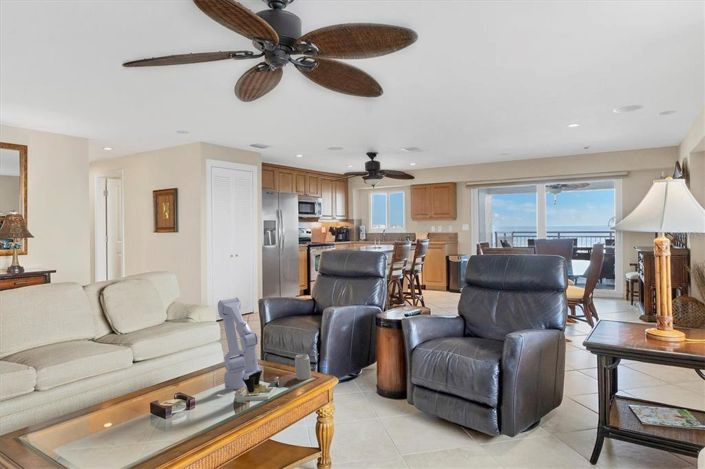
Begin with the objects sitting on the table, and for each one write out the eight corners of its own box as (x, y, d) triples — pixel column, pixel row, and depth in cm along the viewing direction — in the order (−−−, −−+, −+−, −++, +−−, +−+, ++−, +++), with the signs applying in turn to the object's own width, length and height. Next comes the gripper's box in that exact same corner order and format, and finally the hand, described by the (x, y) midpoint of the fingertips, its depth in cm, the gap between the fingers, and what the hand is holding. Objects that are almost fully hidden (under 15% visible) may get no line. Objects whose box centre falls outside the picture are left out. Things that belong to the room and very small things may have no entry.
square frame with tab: (246, 394, 193) (246, 388, 193) (251, 389, 198) (250, 384, 198) (263, 393, 192) (263, 387, 192) (267, 388, 197) (267, 383, 197)
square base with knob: (266, 389, 203) (265, 380, 203) (272, 383, 211) (271, 374, 211) (282, 388, 202) (281, 379, 202) (287, 383, 210) (286, 374, 210)
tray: (236, 402, 190) (236, 397, 190) (246, 393, 201) (246, 388, 201) (268, 401, 188) (268, 396, 188) (276, 391, 199) (276, 387, 199)
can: (310, 380, 210) (308, 356, 210) (295, 382, 210) (293, 357, 210) (312, 375, 218) (310, 352, 218) (297, 377, 218) (295, 353, 218)
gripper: (252, 364, 187) (256, 395, 187) (264, 355, 202) (267, 383, 201) (237, 365, 188) (240, 396, 188) (250, 356, 203) (253, 384, 203)
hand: (253, 389), depth 195 cm, fingers closed on square frame with tab, 5 cm apart
